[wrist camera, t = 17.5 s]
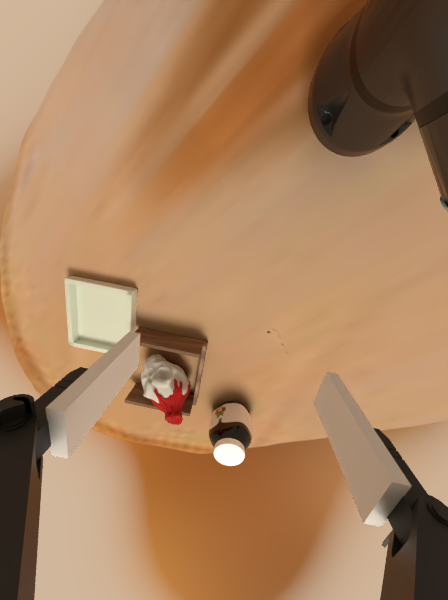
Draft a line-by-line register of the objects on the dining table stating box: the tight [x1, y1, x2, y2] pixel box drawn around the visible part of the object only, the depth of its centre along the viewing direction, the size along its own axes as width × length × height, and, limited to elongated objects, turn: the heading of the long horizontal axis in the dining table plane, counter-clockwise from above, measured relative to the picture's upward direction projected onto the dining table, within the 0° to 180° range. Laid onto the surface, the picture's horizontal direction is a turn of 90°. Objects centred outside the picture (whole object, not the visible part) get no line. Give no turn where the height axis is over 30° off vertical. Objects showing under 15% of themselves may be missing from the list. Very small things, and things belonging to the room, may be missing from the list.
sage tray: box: [64, 276, 138, 353], centre depth 49 cm, size 17×15×3 cm
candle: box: [141, 354, 191, 425], centre depth 49 cm, size 9×11×15 cm
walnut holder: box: [125, 327, 208, 416], centre depth 51 cm, size 18×17×6 cm
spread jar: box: [209, 401, 252, 466], centre depth 52 cm, size 12×11×12 cm
